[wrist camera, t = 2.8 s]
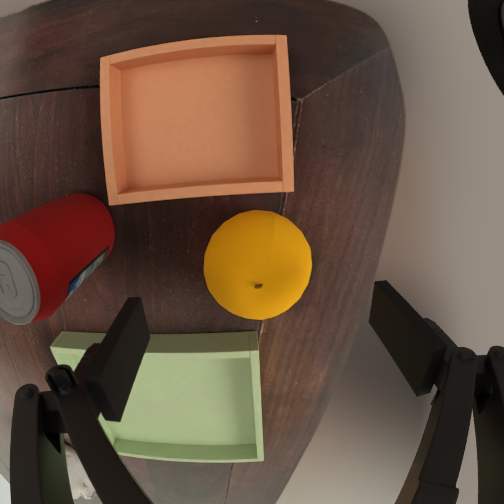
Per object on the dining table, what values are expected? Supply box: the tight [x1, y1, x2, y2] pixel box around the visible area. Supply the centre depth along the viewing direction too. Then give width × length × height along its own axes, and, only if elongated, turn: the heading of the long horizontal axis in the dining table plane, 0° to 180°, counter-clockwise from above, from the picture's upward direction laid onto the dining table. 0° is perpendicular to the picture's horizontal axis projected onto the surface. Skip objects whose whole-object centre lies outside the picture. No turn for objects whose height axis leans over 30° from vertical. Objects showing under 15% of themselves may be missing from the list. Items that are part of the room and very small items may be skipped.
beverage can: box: [0, 193, 115, 325], centre depth 19 cm, size 7×7×12 cm
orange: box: [203, 210, 312, 320], centre depth 22 cm, size 8×8×8 cm
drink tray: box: [100, 35, 294, 206], centre depth 20 cm, size 14×12×3 cm
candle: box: [64, 442, 96, 500], centre depth 33 cm, size 9×11×15 cm
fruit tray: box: [50, 331, 264, 462], centre depth 30 cm, size 22×20×3 cm
